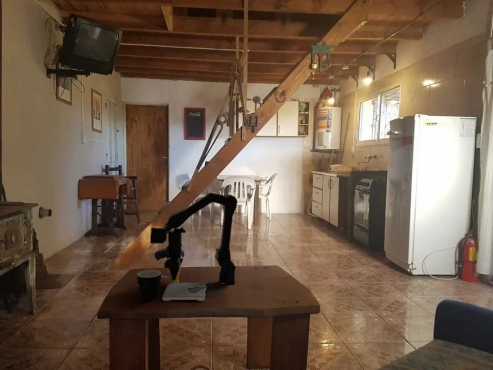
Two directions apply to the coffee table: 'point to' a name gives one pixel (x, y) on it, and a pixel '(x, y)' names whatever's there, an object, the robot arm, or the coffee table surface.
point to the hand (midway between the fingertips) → (174, 277)
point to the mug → (149, 284)
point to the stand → (184, 292)
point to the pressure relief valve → (171, 277)
